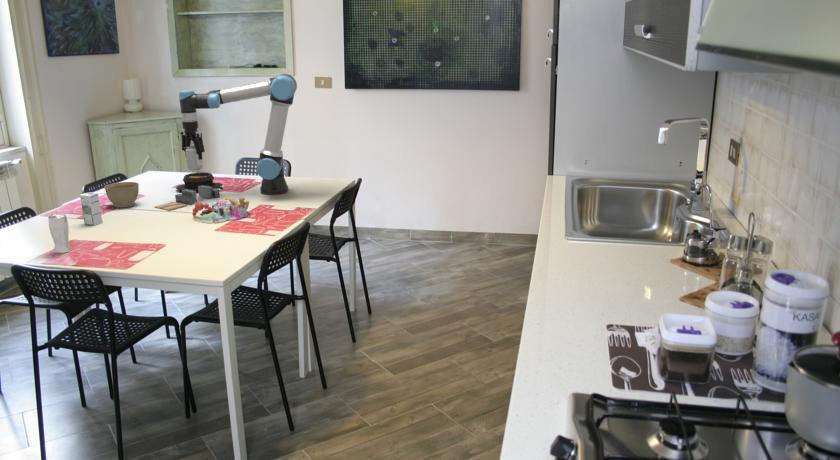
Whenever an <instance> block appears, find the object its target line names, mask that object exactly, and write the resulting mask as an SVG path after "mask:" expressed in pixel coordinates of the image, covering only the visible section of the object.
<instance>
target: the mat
mask: <svg viewBox="0 0 840 460" xmlns="http://www.w3.org/2000/svg"><path fill="white" fill-rule="evenodd" d="M186 207H189V205H186V204H181V203H176V201H170V202H166V203H163V204H159V205H155V206H154V209H159V210H162V211H163V210H164V211H170V212H171V211H174V210H178V209H182V208H186Z"/></svg>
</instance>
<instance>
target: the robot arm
mask: <svg viewBox="0 0 840 460" xmlns="http://www.w3.org/2000/svg"><path fill="white" fill-rule="evenodd" d="M297 88H298V84H297V80H296V79H295V77H294V76H292V75H290V74H288V73H283V74H280V75H277V76H273V77H270V78H268V80H264V81H259V82H258V81H257V82H253V83H248V84H243V85H238V86H232V87H226V88H222V89H215V90H214V89H213V90H210V91H208V92H206V93H195V90H194V89H182V90H180V91H179V92H178V93H179V98H178V99H179V104H180V105H179V107H180V112H181V121H182V124H181V125H182V129H183V131H180V135H181V151H184V153H185V155H186V149H187V147H188V146H192V145H191V144H192V143H193V146H195V148H196V151H197V153H196V157H197V166H204V165H203V153H205V145H204V142H203V133H202V132H199V131H198V129H199V123H198V114H197V113H198V112H197V110H200V109H201V110H208V109H211V110H214V109H219V108H220V107H221V105H225V104H230V103H236V102H241V101H246V100H252V99H258V98H262V97H268V96H269V101H270V102H271V107H270V113H269V119H268V124H267V129H266V136H265V139H264V141H265V142H264V147H263V149H261V150H260V152H259V157H258V162H257V164H256V172H257V174H258V176H259V177H260V178H262V179H261V186H260V188H259V189H260V193H261V195H270V196H271V195H281V194H285V193H288V192H289V186H288V184H287V181H286V177H285V168H284V159H283V158H284V154H283V151H282V145H283V141H284V135H285V129H286V124H287V119H288V114H289V108H290V107H291V106H292V105H293V102H294V98H295V97H294V96H295V93H296V91H297Z"/></svg>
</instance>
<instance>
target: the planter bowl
mask: <svg viewBox="0 0 840 460" xmlns="http://www.w3.org/2000/svg"><path fill="white" fill-rule="evenodd" d="M139 186H140V183H139V182H134V181H124V182H123V181H121V182H114V183H110V184H106V185H105V186H104V191H105V193H106V197H107V198H108V200H109V201H110V202H111V204H112V205H113V207H114V208H117V209H118V208H119V209H121V208H129V207H132V206H135V202H136V200H137V198H138V195H139V189H140V188H139Z"/></svg>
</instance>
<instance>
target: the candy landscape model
mask: <svg viewBox="0 0 840 460" xmlns="http://www.w3.org/2000/svg"><path fill="white" fill-rule="evenodd" d="M249 206H250V201H249V200H247V201H245V197H239V202H238V201H237V200H235V199H233V198H231V197H229V196H227V197H224V199H223V198H221V199H219V200H218V201H214V202H212V204H211V206H210V205H209V203H207V202H205V203H203V202H201V201H197V203H195V204H194V208H192V213H191V214H192V217H193V218H192V219H193V221H195V222H198V223H201V224H221V223H222V224H224V223H225V222H230V221H232V220H233V221H239V220H240V218H241V220H242V219H244V218H243V217H245V218H247V216H248V215H249V214H250V211H247V210H248V208H249ZM203 209H204V210H203ZM199 211H201V213H198V212H199ZM197 213H198V214H197Z"/></svg>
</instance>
